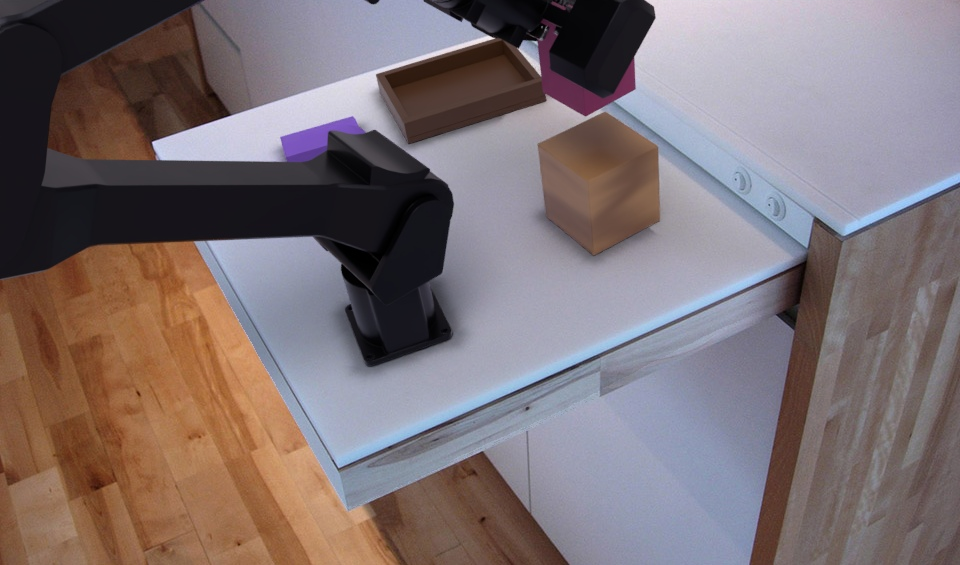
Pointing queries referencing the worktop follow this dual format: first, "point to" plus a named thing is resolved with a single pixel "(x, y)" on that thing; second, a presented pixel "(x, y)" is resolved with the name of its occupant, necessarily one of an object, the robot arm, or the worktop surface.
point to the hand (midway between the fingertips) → (601, 48)
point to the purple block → (315, 139)
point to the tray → (459, 88)
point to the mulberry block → (570, 91)
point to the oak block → (600, 182)
